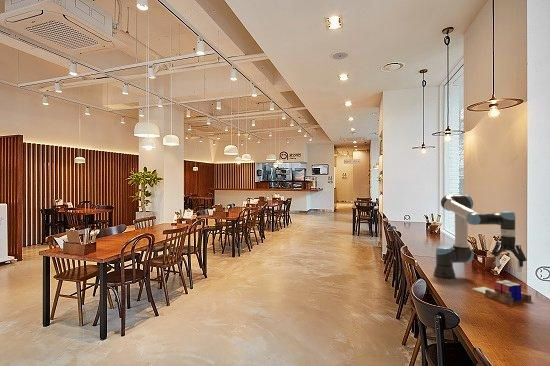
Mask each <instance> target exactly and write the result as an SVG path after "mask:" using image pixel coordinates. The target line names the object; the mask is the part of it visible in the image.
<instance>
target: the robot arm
mask: <svg viewBox="0 0 550 366" xmlns="http://www.w3.org/2000/svg"><path fill="white" fill-rule="evenodd" d="M440 206H441V207H442V209H444V210H446V211H447V212H453V213H454V243H453V244H452V246H451V245H439V246H437V247H436V249H435V260H436V261H435V267H434V270H433V276H435V277H438V278H440V279H449V280H450V279H452V280H453V279H455V278H456V273H455V270H454V266H453V264H457V263H458V264H459V263H463V264H467V263H470V262H472V261H473V260H474V251H473V249H472V248H471V246H470V245H469V244H468V241H469V240H468V236H469V235H468V233H469V232H468V231H469V230H468V224H469V225H473V226H477V225H478V226H480V225H481V226H482V225H483V226H485V225H496V226H497V225H498V226H500V241H499V240H498V241H496V242H495V246H494V248H493V249H492V252H491V255H492V256H494V257H493V258H494V261H495V267H500V266H501V265H500V264H501V262H500V261H501V259H500V255H501V254H502V253H503V252H504V251H510V252H511V253H512V254H513V255H514V256H515V258H516V259H517V263H516V264H517V268H516V269H517V272H518V273H522V272H523V267H524V262H527V261H528V260H527V258H526V255H525V254H524V252H523V249H522V245H520V244H516V213H515V212H514V211H509V210H508V211H506V210H505V211H500V213H497V212H488V213H487V212H483V213H481V212H478V211H477V212H476V211H475V210H473V207H474V201H473V199H472V197H471V196H470V195H468V194H447V195H444V196H443V197H442V198H441V200H440Z"/></svg>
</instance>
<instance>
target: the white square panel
mask: <svg viewBox="0 0 550 366" xmlns="http://www.w3.org/2000/svg"><path fill="white" fill-rule="evenodd" d="M487 289H489V290H491V291H494V292H495V289H492V288H489V287H486V286H481V287H473V288H471V290H472V291H475V292H477V293H480V294H483V295H485V290H487Z"/></svg>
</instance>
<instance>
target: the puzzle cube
mask: <svg viewBox="0 0 550 366" xmlns="http://www.w3.org/2000/svg"><path fill="white" fill-rule="evenodd" d="M507 280H508V279H504V280H498V281H497V280H496V281H494V290H495V292H497V293H500V294H503V295H506V291H508V292H511V297H512V298H513V303H514V302H520V301H522V300H521V292H522V285H521V284H519V283H516V282H513V281H511V280H509V281H507ZM510 281H511V282H510Z"/></svg>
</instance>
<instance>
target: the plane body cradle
mask: <svg viewBox="0 0 550 366" xmlns="http://www.w3.org/2000/svg"><path fill="white" fill-rule="evenodd" d="M506 280H507V281H510V282H512V281H511V280H509V279H506ZM489 289H490V288H489ZM489 289H487V290H485V294H484V296H485V297H487V298H490V299H493V300H495V301H498V302H501V303H504V304H507V305H509V306H513V305H514V302H513V298H512V297H511V292H508V291H506V295H503V294H500V293H497V292H494V291H491V290H489ZM521 301H524V302H528V303H530V302H532V295H531V294H529V293H526V292H522V291H521Z"/></svg>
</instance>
